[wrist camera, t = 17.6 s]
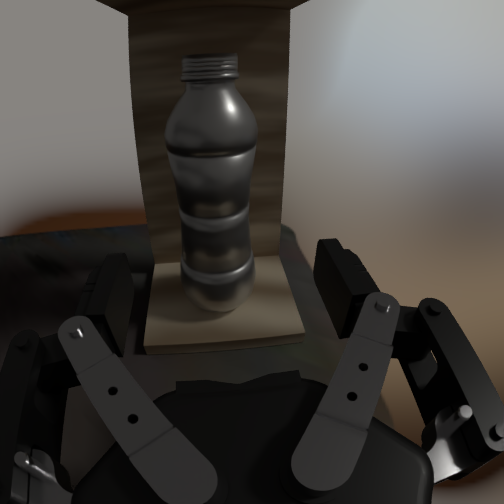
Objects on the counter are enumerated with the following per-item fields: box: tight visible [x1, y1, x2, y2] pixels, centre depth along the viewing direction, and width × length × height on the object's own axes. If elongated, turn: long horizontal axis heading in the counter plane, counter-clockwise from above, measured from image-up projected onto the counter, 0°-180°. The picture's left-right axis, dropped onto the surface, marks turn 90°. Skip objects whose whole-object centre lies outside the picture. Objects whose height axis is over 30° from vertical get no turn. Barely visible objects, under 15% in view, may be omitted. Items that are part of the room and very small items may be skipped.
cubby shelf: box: [96, 0, 309, 355], centre depth 22 cm, size 12×13×27 cm
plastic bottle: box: [164, 53, 258, 313], centre depth 23 cm, size 6×7×20 cm
